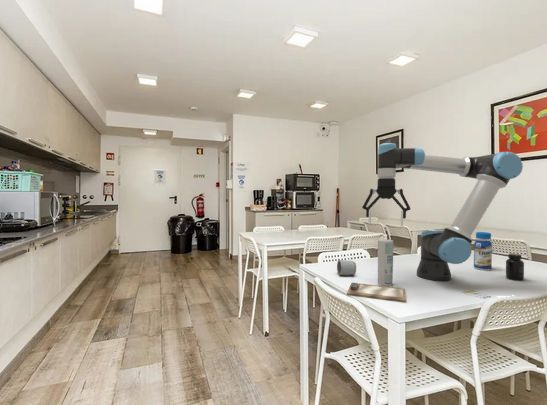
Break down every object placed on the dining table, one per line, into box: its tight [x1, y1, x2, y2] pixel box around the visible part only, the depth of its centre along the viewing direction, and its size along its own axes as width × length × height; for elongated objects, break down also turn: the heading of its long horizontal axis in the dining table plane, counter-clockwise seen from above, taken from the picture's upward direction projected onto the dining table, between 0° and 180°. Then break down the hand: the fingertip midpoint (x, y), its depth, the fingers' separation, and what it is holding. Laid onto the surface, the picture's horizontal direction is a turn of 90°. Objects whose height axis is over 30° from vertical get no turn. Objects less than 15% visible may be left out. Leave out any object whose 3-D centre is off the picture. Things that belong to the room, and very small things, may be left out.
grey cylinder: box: [336, 259, 357, 276], centre depth 150 cm, size 11×8×8 cm
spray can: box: [377, 238, 394, 287], centre depth 134 cm, size 6×6×20 cm
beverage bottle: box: [473, 231, 494, 271], centre depth 162 cm, size 8×8×20 cm
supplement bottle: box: [505, 253, 525, 282], centre depth 143 cm, size 7×7×12 cm
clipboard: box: [346, 282, 407, 303], centre depth 122 cm, size 22×15×2 cm
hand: (385, 225), depth 133 cm, fingers open, 13 cm apart
